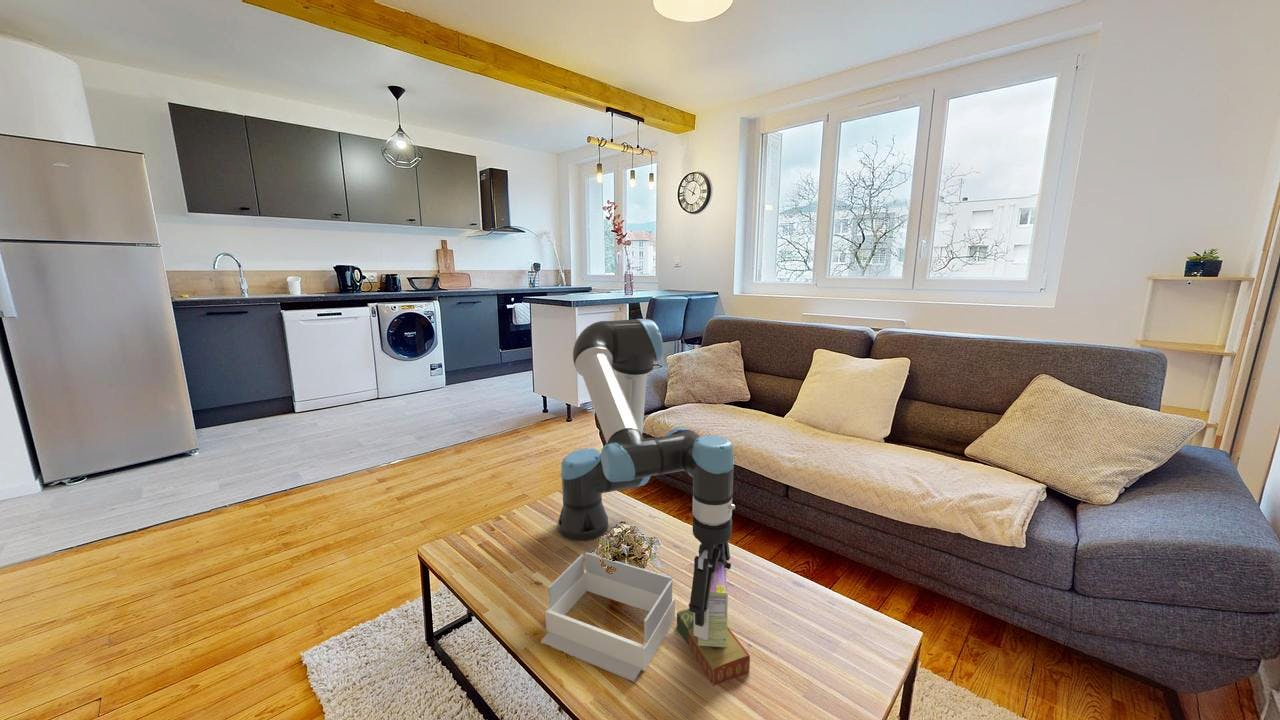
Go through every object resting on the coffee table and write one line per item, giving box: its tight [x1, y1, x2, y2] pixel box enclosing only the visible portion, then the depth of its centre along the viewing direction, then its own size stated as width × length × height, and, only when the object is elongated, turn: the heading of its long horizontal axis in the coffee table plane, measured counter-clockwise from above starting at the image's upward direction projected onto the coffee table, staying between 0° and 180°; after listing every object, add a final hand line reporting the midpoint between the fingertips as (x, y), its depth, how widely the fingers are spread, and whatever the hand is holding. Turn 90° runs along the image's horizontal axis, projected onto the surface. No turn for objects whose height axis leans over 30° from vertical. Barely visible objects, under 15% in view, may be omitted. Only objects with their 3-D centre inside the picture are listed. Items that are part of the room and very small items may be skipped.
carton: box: [676, 608, 751, 687], centre depth 95 cm, size 8×16×4 cm, turn 21°
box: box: [698, 561, 729, 647], centre depth 93 cm, size 10×6×12 cm, turn 174°
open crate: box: [541, 551, 676, 683], centre depth 99 cm, size 24×19×10 cm
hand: (710, 615), depth 94 cm, fingers closed on box, 11 cm apart
